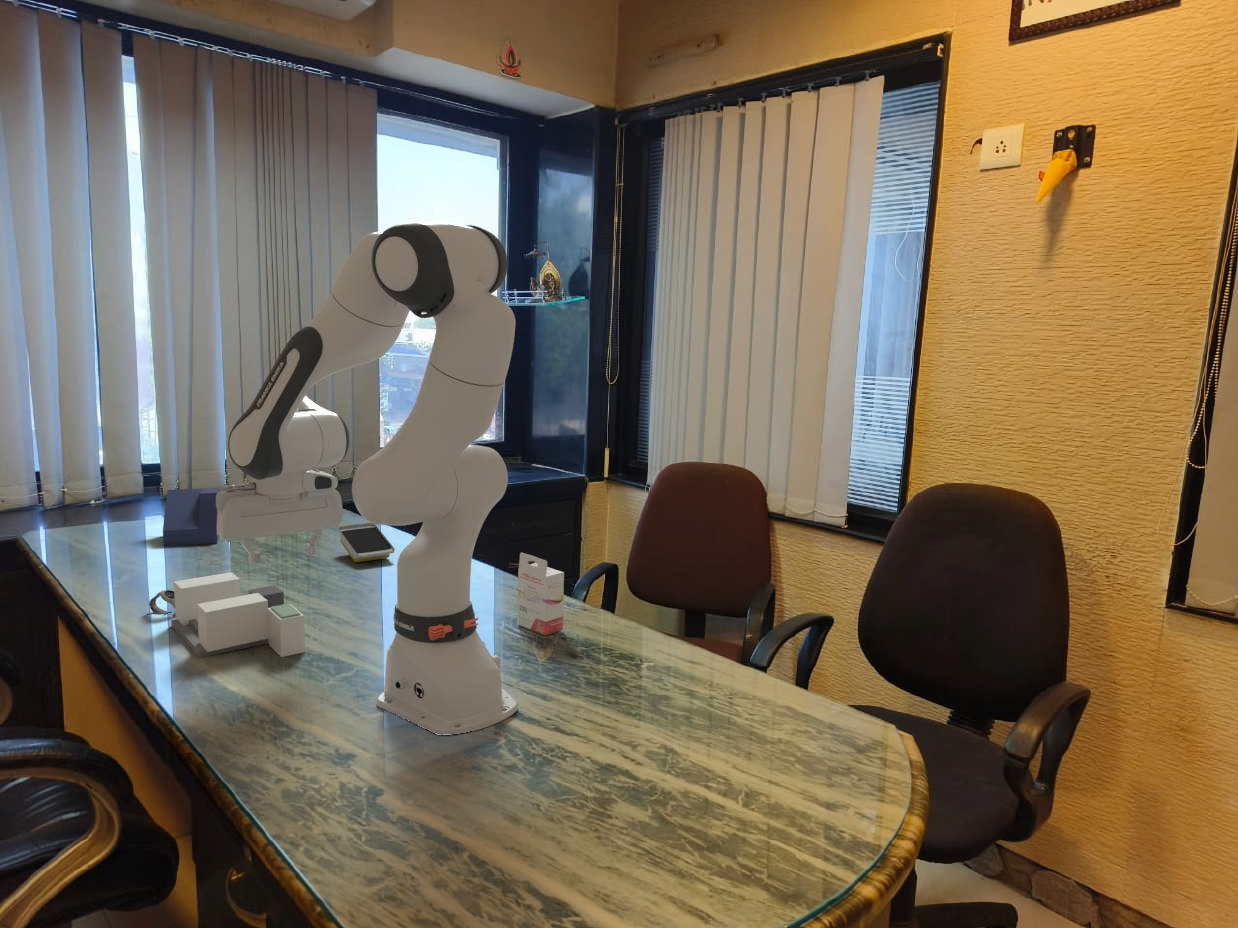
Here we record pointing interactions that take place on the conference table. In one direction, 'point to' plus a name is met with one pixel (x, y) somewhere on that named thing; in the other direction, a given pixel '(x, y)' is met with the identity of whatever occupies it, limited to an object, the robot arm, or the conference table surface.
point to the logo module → (286, 630)
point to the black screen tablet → (365, 542)
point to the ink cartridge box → (539, 596)
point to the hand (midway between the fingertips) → (283, 558)
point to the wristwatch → (166, 596)
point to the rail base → (219, 615)
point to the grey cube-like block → (270, 595)
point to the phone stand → (190, 517)
